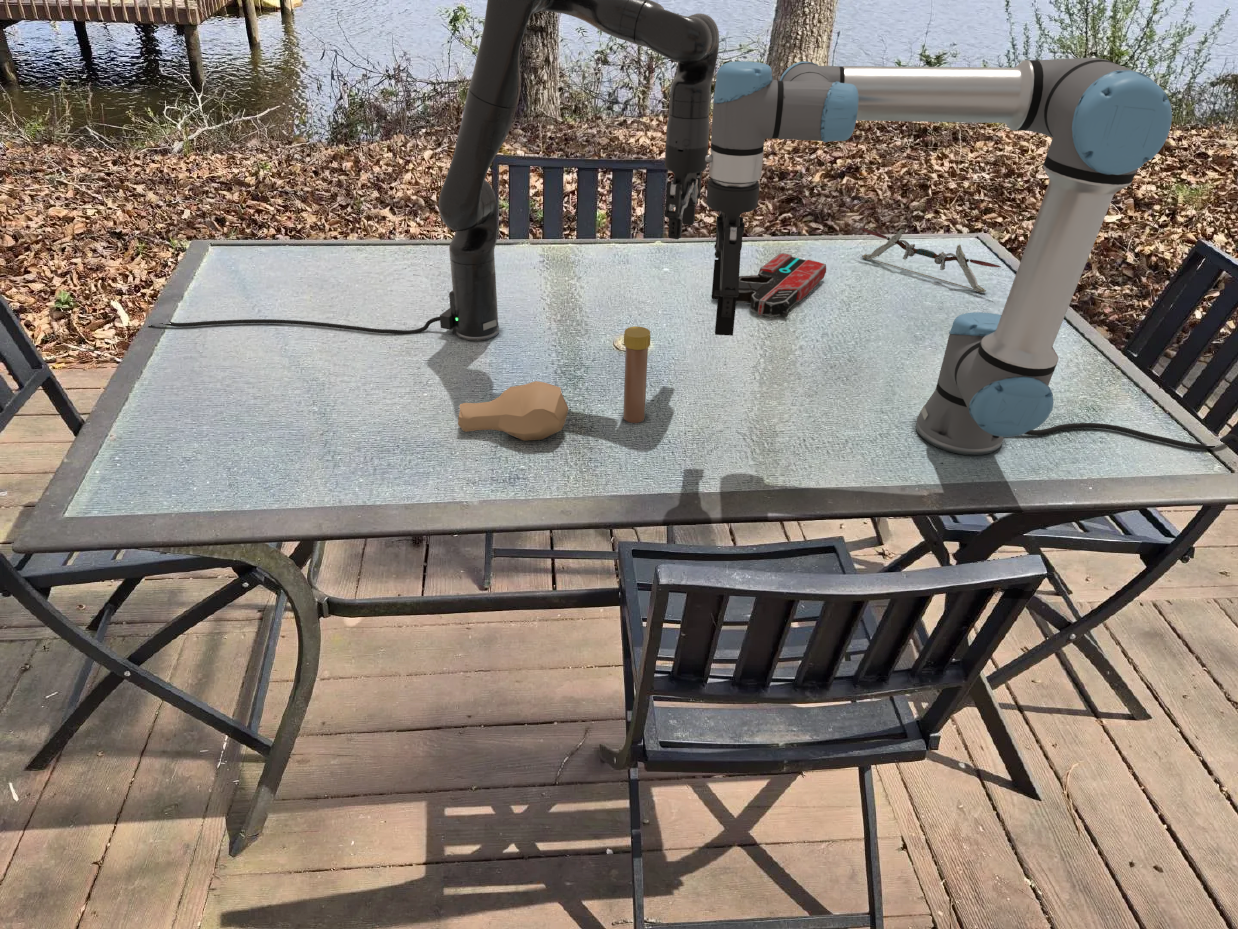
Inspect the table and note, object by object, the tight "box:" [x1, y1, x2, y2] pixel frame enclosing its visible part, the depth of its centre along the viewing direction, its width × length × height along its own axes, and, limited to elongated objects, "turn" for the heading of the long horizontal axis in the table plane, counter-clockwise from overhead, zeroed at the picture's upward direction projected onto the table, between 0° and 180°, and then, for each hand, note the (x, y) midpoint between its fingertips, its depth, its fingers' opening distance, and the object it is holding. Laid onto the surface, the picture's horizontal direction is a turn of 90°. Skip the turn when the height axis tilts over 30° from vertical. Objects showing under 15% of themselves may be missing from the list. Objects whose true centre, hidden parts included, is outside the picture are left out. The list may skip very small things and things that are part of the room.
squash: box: [457, 380, 570, 442], centre depth 157 cm, size 11×20×9 cm, turn 90°
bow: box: [860, 227, 1002, 294], centre depth 225 cm, size 39×2×10 cm, turn 47°
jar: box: [622, 346, 649, 424], centre depth 159 cm, size 4×4×17 cm
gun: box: [729, 252, 827, 318], centre depth 215 cm, size 4×31×19 cm
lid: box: [623, 326, 651, 350], centre depth 155 cm, size 5×5×2 cm
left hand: (681, 231), depth 164 cm, fingers open, 8 cm apart
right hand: (721, 315), depth 138 cm, fingers open, 13 cm apart
